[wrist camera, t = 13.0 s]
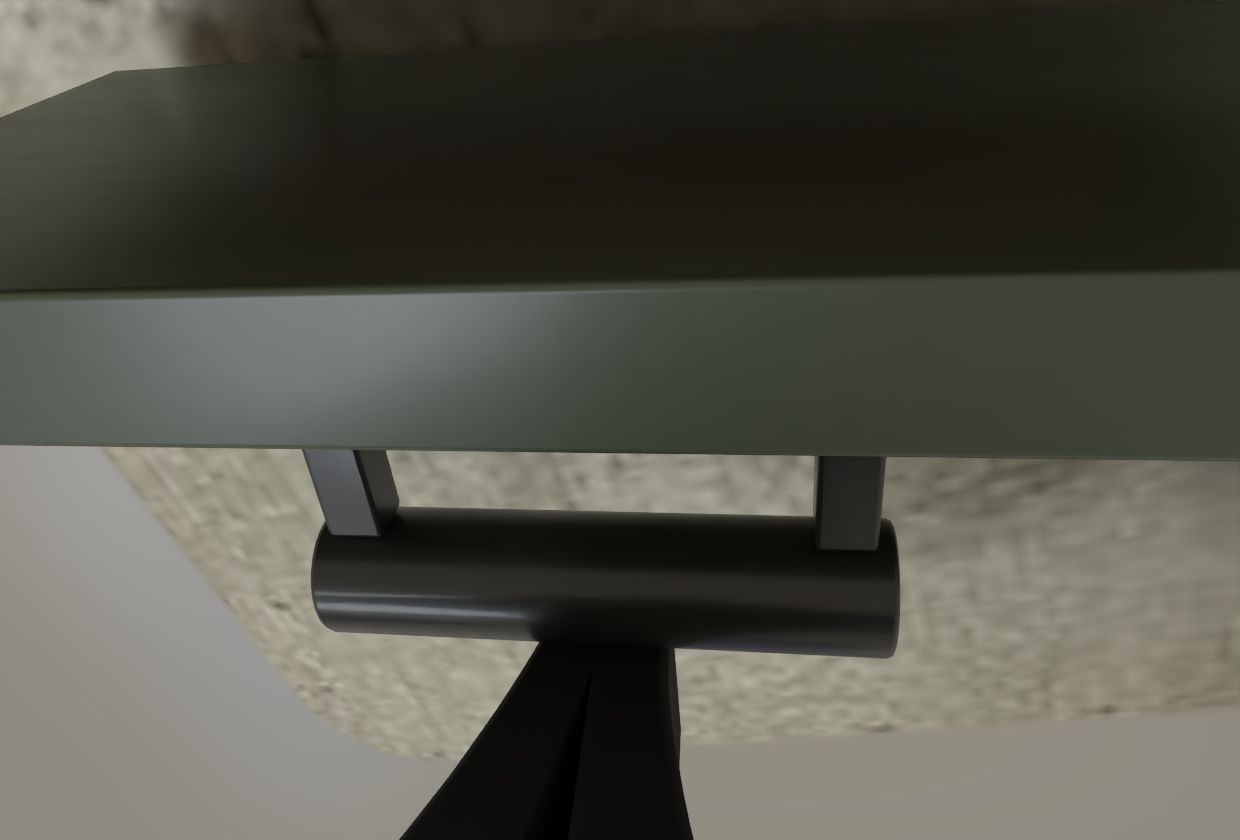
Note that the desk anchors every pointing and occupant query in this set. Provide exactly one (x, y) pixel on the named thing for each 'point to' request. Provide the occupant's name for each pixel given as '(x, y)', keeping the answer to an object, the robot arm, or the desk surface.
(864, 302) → the drawer
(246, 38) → the desk surface
